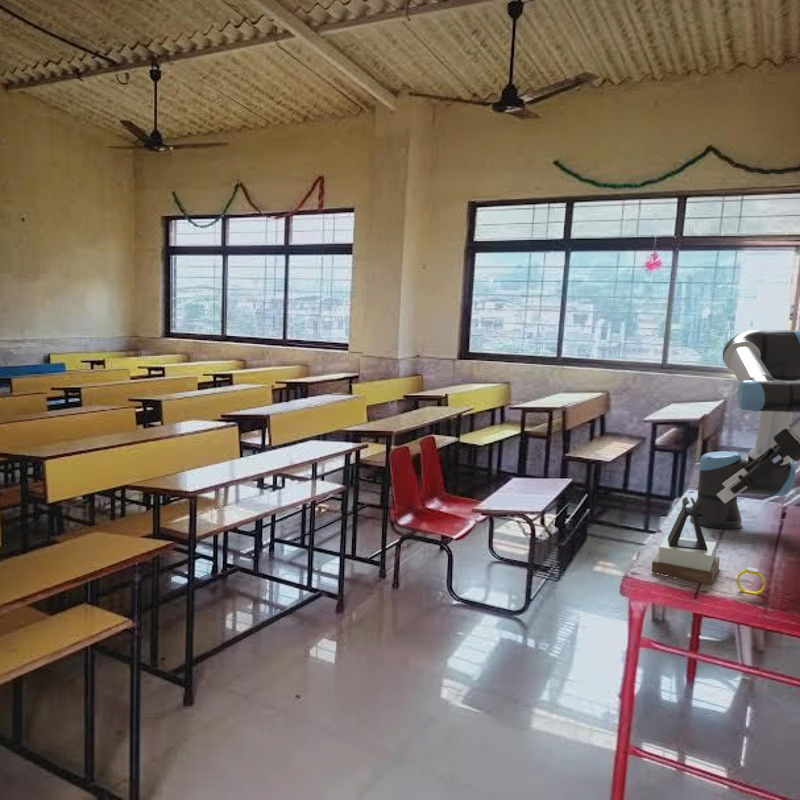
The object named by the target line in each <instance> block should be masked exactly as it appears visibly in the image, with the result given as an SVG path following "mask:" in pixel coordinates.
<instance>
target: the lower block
mask: <svg viewBox="0 0 800 800" xmlns="http://www.w3.org/2000/svg"><path fill="white" fill-rule="evenodd" d="M658 560H659V552H658V553H657V555H656V556H655V557H654V558H653V560H652V563H651V573H652V572H654V573H659V574H663V575H668V576H672V577H671V578H673V577H676V578H675V579H678V578H679V580H682V581H689V582H692V583H693V582H694V583H697V584H702V583H703V585H707V584H708V586H712V584H713V583H714V581H713V580H715V578H716V575H717V574H718V571H719V567H720V556H716V555H715V559H714V562H713V564H712V567H711V570H710V571H704V570H699V569H694V568H688V567H683V566H678V565H673V564H667V563H662V562H658ZM663 575H662V576H663ZM668 576H667V577H668Z"/></svg>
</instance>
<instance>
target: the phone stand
mask: <svg viewBox="0 0 800 800" xmlns="http://www.w3.org/2000/svg"><path fill="white" fill-rule="evenodd" d="M681 501H682V502H681V503H682V504H681V505H682V507H681V509H680V511H679V514H678V516H677V518H676V519H675V522H674V524H673V526H672V528H671V530H670V532H669V534H668V535H669V536H668V542H669V546H671V547H679V548H689V549H697V550H708V549H707V546H706V543H705V541H706V540H705V537H704V533H703V530H702V528H701V525H700V524H699V521H698V518H697V505H696V503H695V502H696V500H695V499H694V498H693V497H692V496H691V497H690V501H691V504H692V505H691V506H690V507H689V506H687V505H689V504H690V501H689V498H688V497H687V496H685V497H684V498H682V500H681ZM690 516H692V519H693V522H692V524H693V527H694V531H695V537H696V540H697V541H689V540H680V539H679V538H680V537H681V535H682V532H683V530H684V527H685V525H686V521H687V519H688V517H690Z"/></svg>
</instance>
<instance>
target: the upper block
mask: <svg viewBox="0 0 800 800" xmlns="http://www.w3.org/2000/svg"><path fill="white" fill-rule="evenodd" d="M668 536H669V534H666V536H665V538H664V539H663V541H662V542H661V544H660V545H659V547H658V553H659V560H658V562H662V563H667V564H673V565H678V566H683V567H688V568H694V569H699V570H704V571H710V570H711V567H712V564H713V562H714V559H715V556H716V551H717V550H716V549H717V542H715V541H713V542H712V541H709V540H708V541H706V540H705V543H706V546H707V549H708V550H697V549H689V548H679V547H671V546H669V542H668ZM679 539H680V540H689V541H697V538H695V539H694V538H690V537H684V536H680V538H679Z"/></svg>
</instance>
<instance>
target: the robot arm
mask: <svg viewBox="0 0 800 800" xmlns="http://www.w3.org/2000/svg"><path fill="white" fill-rule="evenodd" d="M722 359H723V362H724V364H725V366H726V367H727V368H728V369H729V370H730V371H732V372H733V373H734V375H735V378H736V379H737V381H738V383H739V384H738V388H737V392H736V393H737V395H736V398H737V405H738V408H739V409H741V410H744V411H752V412H760V415H759V420H758V426H757V433H756V434H757V435H756V440H755V446H754V448H752V449H750V450H749V452H748V457H742V455H741V454H740V452H738V451H725V450H723V451H720V450H719V451H710V452H706V453H704V454H702V455H701V457H700V458H699V459H700V461H699V467H698V471H699V474H698V485H697V497H696V500H695V503H696V505H697V518H698V521H699V524H700V526H703V527H706V528H712V529H720V530H736V529H739V528H741V527H742V515H741V512H740V509H739V505H738V495H740V494H743V495H757V496H767V497H770V498H771V497H785V496H787V495H788V494H789V493H790V492H791V490H792V489H793V486H794V484H795V479H796V465H795V462H799V461H800V416H799V417H798V418H797V419H795V420H794V421H792V419H793V415H794V413H798V414H799V413H800V330H794V329H792V330H787V329H786V330H785V329H784V330H783V329H782V330H777V329H776V330H774V329H773V330H771V329H770V330H768V329H766V330H762V329H761V330H760V329H752V330H747V331H744V332H741V333H738V334H737V335H735V336H734V337H732V338H730V340H728V341H727V343H726V344H725V346H724V347H723V350H722ZM794 461H795V462H794ZM689 517H690V518H689V520H690V521H691V522H692V523H693V519H692V516H689Z"/></svg>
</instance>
